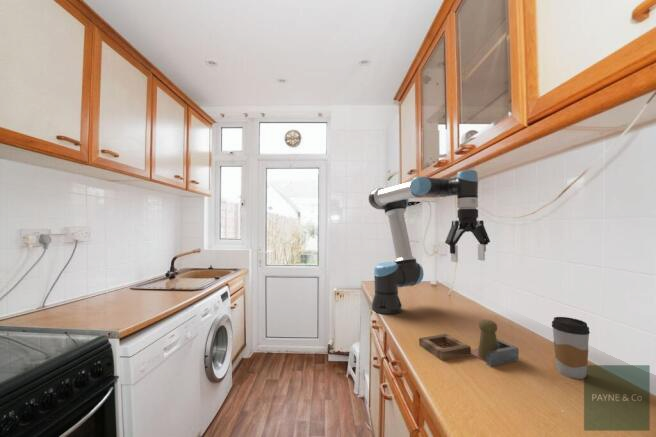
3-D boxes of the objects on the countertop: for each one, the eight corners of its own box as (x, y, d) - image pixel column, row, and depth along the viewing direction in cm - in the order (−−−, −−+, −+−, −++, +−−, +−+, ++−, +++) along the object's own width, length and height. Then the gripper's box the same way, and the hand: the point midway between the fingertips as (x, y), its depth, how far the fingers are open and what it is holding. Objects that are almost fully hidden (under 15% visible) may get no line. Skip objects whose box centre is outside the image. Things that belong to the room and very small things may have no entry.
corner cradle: (461, 350, 94) (461, 338, 94) (487, 345, 98) (487, 334, 98) (490, 366, 83) (490, 353, 84) (518, 360, 87) (518, 348, 87)
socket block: (419, 345, 99) (419, 337, 99) (445, 340, 102) (445, 333, 102) (442, 360, 88) (441, 352, 88) (470, 354, 91) (470, 346, 91)
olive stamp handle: (502, 359, 87) (501, 324, 87) (481, 357, 88) (481, 323, 89) (495, 350, 93) (494, 318, 93) (475, 349, 94) (474, 317, 95)
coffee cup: (592, 373, 79) (590, 321, 80) (590, 385, 74) (588, 328, 74) (555, 363, 85) (553, 314, 86) (550, 373, 80) (549, 321, 80)
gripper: (448, 208, 105) (449, 263, 105) (499, 208, 112) (500, 260, 112) (435, 208, 112) (436, 261, 112) (484, 209, 119) (484, 258, 119)
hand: (468, 261), depth 112 cm, fingers open, 13 cm apart
